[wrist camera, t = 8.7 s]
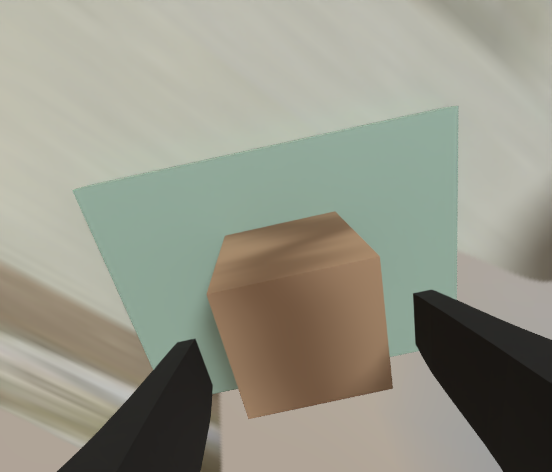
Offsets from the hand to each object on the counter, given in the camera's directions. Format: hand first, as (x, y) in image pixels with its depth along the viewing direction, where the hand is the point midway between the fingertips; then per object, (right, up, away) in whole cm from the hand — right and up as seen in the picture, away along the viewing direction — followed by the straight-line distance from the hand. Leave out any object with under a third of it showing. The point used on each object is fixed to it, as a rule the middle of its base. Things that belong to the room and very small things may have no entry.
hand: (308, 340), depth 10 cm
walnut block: (0, +2, +4) cm, 5 cm away
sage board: (0, +2, +5) cm, 6 cm away
